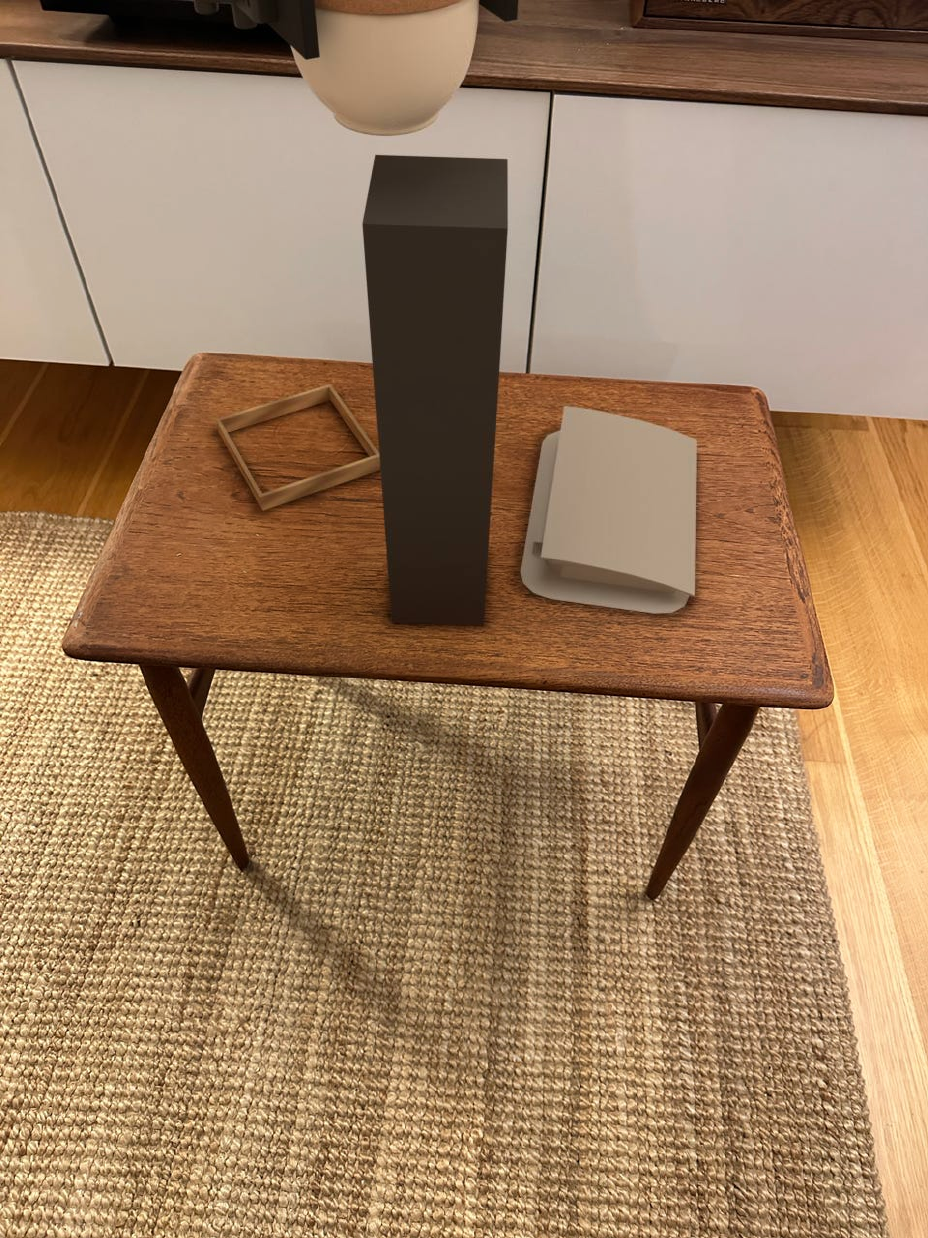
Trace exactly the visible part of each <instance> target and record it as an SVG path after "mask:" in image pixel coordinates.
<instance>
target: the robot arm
mask: <svg viewBox="0 0 928 1238" xmlns="http://www.w3.org/2000/svg"><path fill="white" fill-rule="evenodd" d="M222 3H224V4H226V3H227V4H231V10H232V11H231V12H232V17H233V24H234V27H235V28H237V29H239V30H251V29H254V28H256V27H257V26H258V24H260V25H264V24H267V26H269V27H270V28H271V29H273V31H275V33H277V34H278V35H279V36H280V37H281V38H282V39H283V40H284V41H285V42H286V43H287V44H288V45H289V46H290V45H291V46H292V47H293V48H294V49H295V50H296V51H297V52H298V53H299V54H300V55H301V56H302V57H303V58H304V59H305V60H308V59H313V58H319V57H320V54H319V43H318V33H317V22H316V12H315V1H314V0H193V6H194V10H195V12H196V13H197V14H199V15H202V16H209V15H212V14H216V13H217V12H218V11H219V4H222ZM479 6H481V7H482V8H484V9H486V10H487V11H488V12H490V13H491V14H493V15H494V16H495V17H497V18H499V19H500V20H501V21H503V22H504V23H508V22H512V21H518V14H519V0H479ZM291 46H290V47H291Z"/></svg>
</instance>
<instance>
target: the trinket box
mask: <svg viewBox="0 0 928 1238" xmlns="http://www.w3.org/2000/svg"><path fill="white" fill-rule="evenodd" d="M314 1H315V12H316V22H317V33H318V43H319V54H320V57H319V58H313V59H308V60H305V59H304V58H303V57H302V56H301V55H300V54H299V53H298V52H297V51H296V50H295V49H294V48H293V47H292V46H291V45H290V44H289V46H290V49H291V52H292V54H293V58H294V60H295V61H294V62H295V64H296V66H297V68H298V71H299V72H300V74H301V77H302V79H303V80H304V82H305V84H306V85H307V87H308V88H309V89H310V92H312V94H313V95H314V96H315V97H316V98H317V100H318V101H319V102H320V103H321V104H322V105H323V106H324V107H325V108H327V110H329V111H330V112H331V113H332V114H333V118H334V119H335V121H336V122H337V124H339V125H340V126H342V127H343V128H345V129H347V130H350V131H352V132H355V133H359V134H363V135H367V136H368V135H370V136H378V137H394V136H402V135H403V136H404V135H408V134H413V133H416V132H419V131H422V130H424V129H426V128H428V127H430V126H431V125H433V123H435V121H436V120H437V118H438V116H439V112H440V111H441V110H442V109H443V108H444V107H445V106H446V105H447V104H448V103H449V102H450V101H451V100H452V99H453V97H454V96H455V95H456V94H457V92H458V91H459V89H460V88H461V85H462V84H463V82H464V80H465V78H466V76H467V73H468V70H469V68H470V65H471V62H472V61H471V60H472V57H473V51H474V48H475V44H476V37H477V32H478V31H477V30H478V24H479V11H480V4H479V0H314Z"/></svg>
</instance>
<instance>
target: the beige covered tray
mask: <svg viewBox="0 0 928 1238" xmlns="http://www.w3.org/2000/svg"><path fill="white" fill-rule="evenodd" d="M697 458H698V439H696V438H693V437H690V436H689V435H686V434H684V433H681V432H680V431H679V432H678V431H676V430H675V429H672V428H670V427H669V428H668V427H665V426H662V425H659V424H655V423H652V422H648V421H645V420H642V419H637V418H632V417H629V416H624V415H621V414H615V413H610V412H605V411H600V410H595V409H591V408H584V407H577V406H576V407H575V406H568V405H563V411H562V418H561V423H560V429H559V430H557V431H554V432H551V433H550V434H547V435H546V437H545V438H544V440H543V441H542V444H541V448H540V454H539V460H538V465H537V470H536V471H537V472H536V476H535V477H536V478H535V484H534V490H533V495H532V501H531V507H530V514H529V517H528V525H527V531H526V537H525V542H524V548H523V554H522V558H521V559H522V560H521V565H520V571H519V573H520V576H521V582H522V584H523V585H524V587H526V588H527V589H528V590H529V591H530V592H531V593H533V594H534V595H537V596H540V597H543V598H546V599H549V600H552V601H553V600H554V601H559V602H560V601H562V602H569V603H575V604H581V605H583V604H584V605H589V606H597V607H602V608H609V609H610V608H611V609H618V610H625V611H632V612H639V613H646V614H653V615H656V614H657V615H658V614H659V615H660V614H661V615H662V614H673V613H675V612H677V611H679V610H681V609H682V608H684V607H685V606H686V605H687V602H688V600H689V597H690V596H692V597H694V598H695V596H696V545H697V543H696V539H697V538H696V537H697V534H696V533H697V532H696V531H697Z"/></svg>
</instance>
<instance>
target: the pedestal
mask: <svg viewBox="0 0 928 1238" xmlns="http://www.w3.org/2000/svg"><path fill="white" fill-rule="evenodd" d="M508 161H509V160H508V158H488V157H487V158H485V157H457V156H455V157H454V156H430V155H429V156H427V155H426V156H425V155H395V154H393V155H392V154H375V155H374V159H373V163H372V169H371V170H372V171H371V175H370V181H369V186H368V192H367V196H366V202H365V208H364V212H363V217H362V222H361V223H362V225H361V226H362V235H363V236H362V237H363V251H364V252H363V253H364V266H365V278H366V292H367V293H366V294H367V305H368V306H367V307H368V320H369V332H370V333H369V335H370V346H371V347H370V348H371V360H372V361H371V362H372V373H373V374H372V375H373V387H374V398H375V399H374V401H375V414H376V427H377V428H376V429H377V442H378V452H379V457H380V470H379V471H380V483H381V493H382V494H381V497H382V511H383V523H384V524H383V525H384V535H385V536H384V537H385V538H384V539H385V550H386V551H385V552H386V561H387V562H386V564H387V578H388V592H389V605H390V619H391V623H393V624H417V625H418V624H419V625H444V626H445V625H446V626H447V625H448V626H474V627H475V626H476V627H484V626H485V620H486V619H485V616H486V615H485V614H486V601H487V600H486V599H487V585H488V568H489V567H488V566H489V551H490V536H491V535H490V533H491V519H492V516H491V515H492V503H493V502H492V500H493V485H494V484H493V483H494V466H495V449H496V434H497V416H498V400H499V399H498V398H499V384H500V383H499V381H500V365H501V348H502V335H503V334H502V333H503V331H502V330H503V318H504V317H503V316H504V315H503V314H504V297H505V281H506V268H507V267H506V266H507V265H506V264H507V250H508V249H507V248H508V233H509V232H508V230H509V193H508V192H509V189H508V188H509V177H508V176H509V175H508V173H509V172H508V171H509V168H508V167H509V165H508V164H509V163H508Z"/></svg>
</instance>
